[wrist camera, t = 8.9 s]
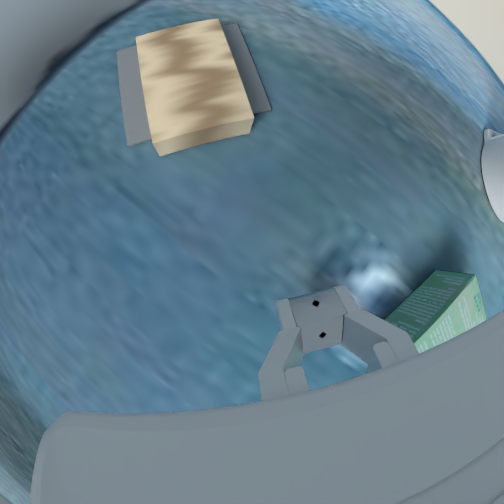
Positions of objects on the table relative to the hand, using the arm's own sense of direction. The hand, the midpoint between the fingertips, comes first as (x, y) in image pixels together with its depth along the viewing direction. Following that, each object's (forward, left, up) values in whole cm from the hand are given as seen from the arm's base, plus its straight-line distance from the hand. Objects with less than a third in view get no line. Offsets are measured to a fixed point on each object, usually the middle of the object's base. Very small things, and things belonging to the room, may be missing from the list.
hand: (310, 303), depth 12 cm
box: (-16, +12, -16) cm, 25 cm away
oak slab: (+1, -13, -13) cm, 19 cm away
